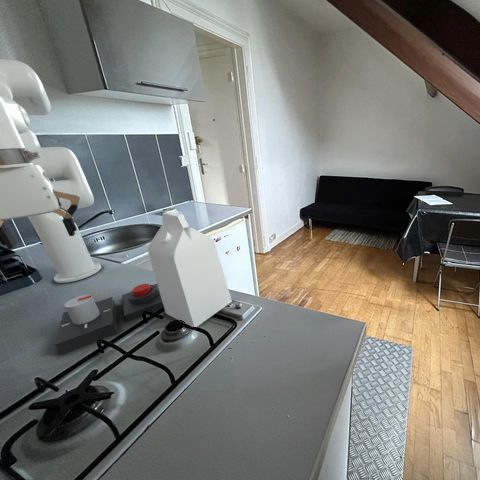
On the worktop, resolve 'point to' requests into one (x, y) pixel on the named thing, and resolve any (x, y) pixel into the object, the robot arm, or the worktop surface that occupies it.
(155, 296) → the power block
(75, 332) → the panel
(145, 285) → the power button
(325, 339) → the worktop surface
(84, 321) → the knob
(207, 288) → the milk
